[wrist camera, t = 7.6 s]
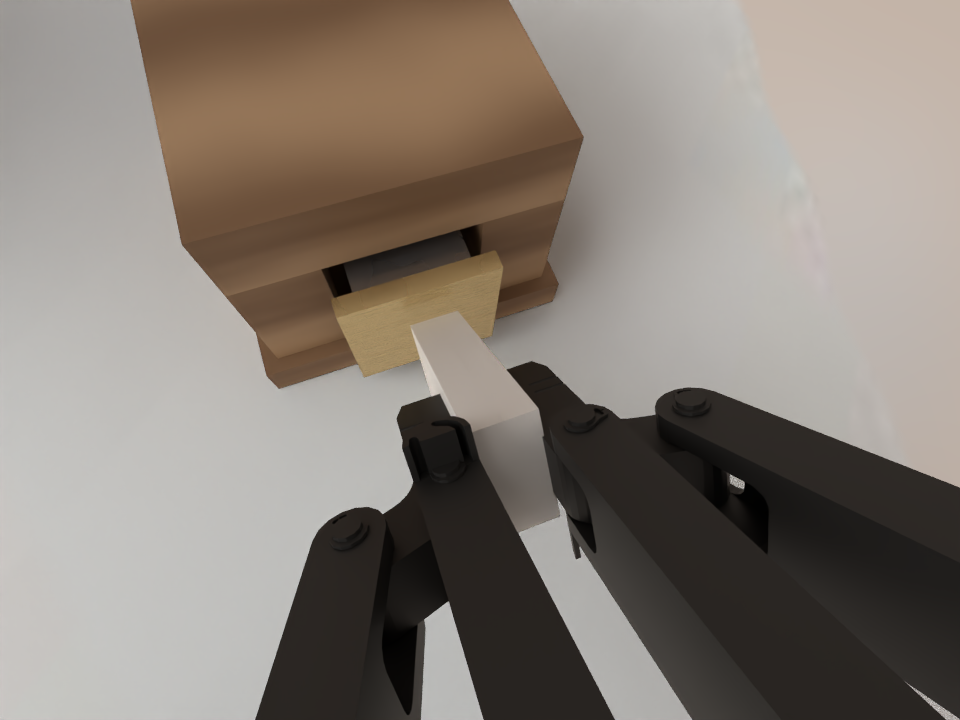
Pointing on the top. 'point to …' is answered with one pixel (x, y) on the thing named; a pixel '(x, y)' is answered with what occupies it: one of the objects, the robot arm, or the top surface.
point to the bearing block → (352, 150)
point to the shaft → (414, 297)
